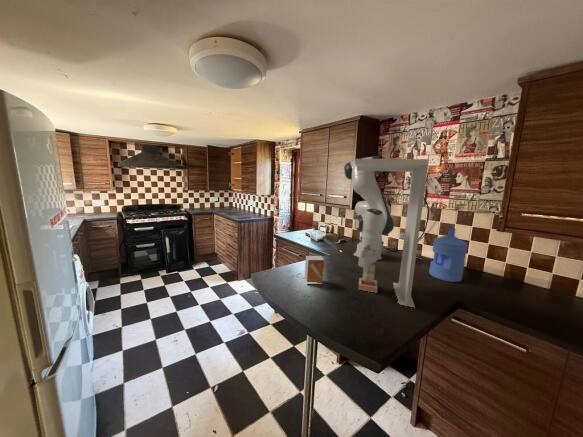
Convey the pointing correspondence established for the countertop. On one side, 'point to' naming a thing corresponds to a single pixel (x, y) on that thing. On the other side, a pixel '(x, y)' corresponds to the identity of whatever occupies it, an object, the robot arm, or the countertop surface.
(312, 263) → the small box
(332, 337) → the countertop surface
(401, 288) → the stand
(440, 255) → the water jug
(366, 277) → the peg
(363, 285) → the socket
